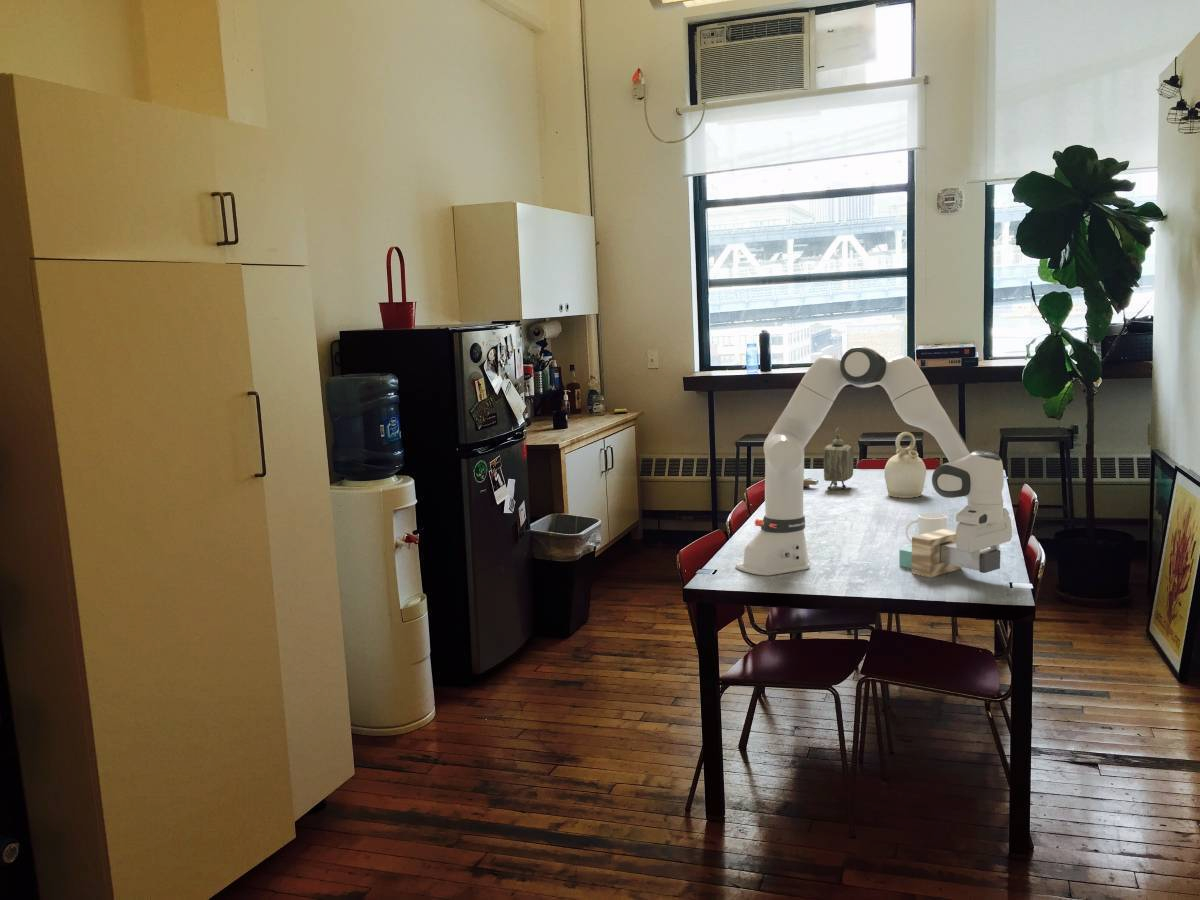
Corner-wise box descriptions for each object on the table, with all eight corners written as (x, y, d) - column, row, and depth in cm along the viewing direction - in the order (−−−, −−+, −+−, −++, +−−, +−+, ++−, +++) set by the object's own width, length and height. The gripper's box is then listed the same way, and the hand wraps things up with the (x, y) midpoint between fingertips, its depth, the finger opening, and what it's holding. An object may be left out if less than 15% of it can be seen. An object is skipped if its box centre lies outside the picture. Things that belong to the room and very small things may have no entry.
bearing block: (929, 577, 272) (930, 540, 270) (911, 573, 277) (911, 536, 275) (961, 568, 280) (961, 532, 278) (942, 564, 284) (943, 528, 283)
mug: (903, 556, 295) (904, 517, 293) (908, 550, 302) (908, 511, 301) (945, 559, 290) (946, 519, 288) (948, 552, 297) (949, 513, 296)
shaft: (984, 573, 261) (984, 554, 261) (919, 559, 278) (919, 541, 277) (1000, 568, 265) (1000, 550, 265) (934, 554, 282) (935, 537, 281)
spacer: (917, 553, 279) (899, 549, 284) (917, 570, 280) (899, 566, 285) (930, 549, 283) (912, 546, 288) (930, 566, 284) (912, 562, 288)
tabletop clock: (832, 485, 414) (831, 425, 410) (854, 485, 410) (853, 425, 406) (823, 491, 401) (823, 429, 397) (846, 492, 397) (846, 430, 393)
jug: (929, 499, 377) (929, 433, 374) (887, 499, 380) (887, 434, 376) (922, 491, 392) (923, 428, 389) (882, 492, 395) (882, 429, 391)
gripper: (997, 505, 272) (996, 554, 274) (951, 516, 260) (951, 567, 262) (1018, 508, 267) (1017, 558, 269) (972, 520, 255) (972, 572, 257)
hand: (984, 563), depth 265 cm, fingers closed on shaft, 5 cm apart
